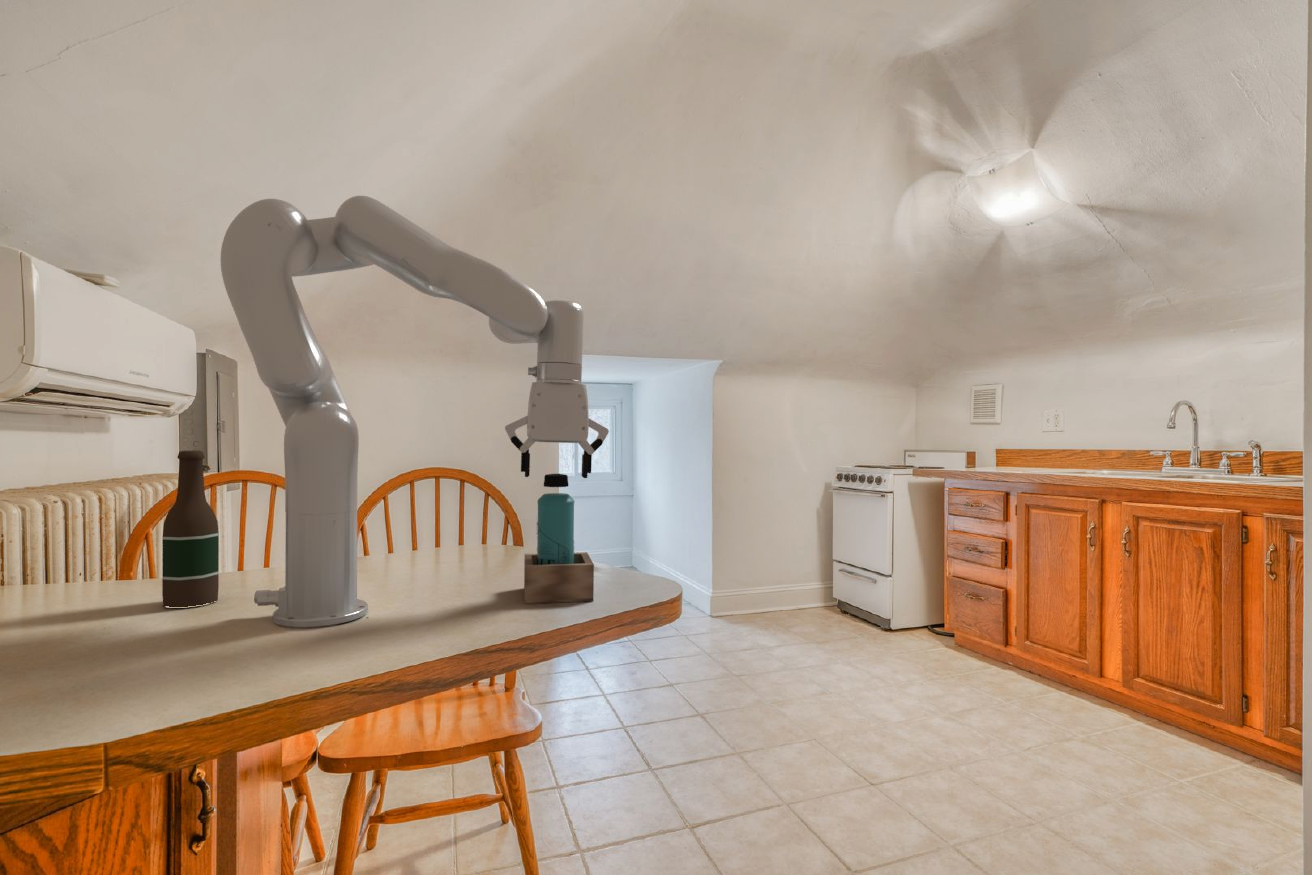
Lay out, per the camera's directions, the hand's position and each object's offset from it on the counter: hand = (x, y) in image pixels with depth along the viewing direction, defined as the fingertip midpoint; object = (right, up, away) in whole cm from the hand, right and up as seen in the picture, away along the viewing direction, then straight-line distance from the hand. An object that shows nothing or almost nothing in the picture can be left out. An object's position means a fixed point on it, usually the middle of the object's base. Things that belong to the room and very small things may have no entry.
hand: (555, 477), depth 115 cm
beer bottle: (-56, -20, -8) cm, 60 cm away
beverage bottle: (0, -20, 0) cm, 20 cm away
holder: (0, -20, 0) cm, 20 cm away
